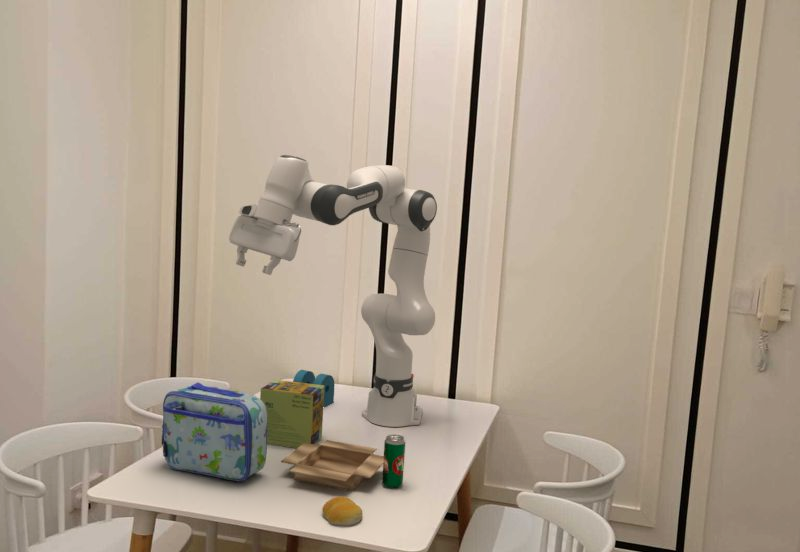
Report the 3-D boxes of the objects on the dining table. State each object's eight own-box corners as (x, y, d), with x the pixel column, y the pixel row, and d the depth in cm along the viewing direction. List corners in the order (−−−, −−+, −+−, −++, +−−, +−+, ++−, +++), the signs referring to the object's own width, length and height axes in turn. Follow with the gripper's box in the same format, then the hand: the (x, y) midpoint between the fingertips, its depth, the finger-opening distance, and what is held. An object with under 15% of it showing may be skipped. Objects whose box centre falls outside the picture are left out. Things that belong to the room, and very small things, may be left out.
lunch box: (154, 467, 177) (156, 384, 174) (183, 454, 187) (185, 375, 184) (244, 490, 167) (247, 402, 165) (269, 474, 177) (273, 391, 175)
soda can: (381, 480, 178) (384, 433, 176) (401, 481, 178) (404, 434, 177) (382, 488, 173) (385, 440, 171) (403, 489, 173) (406, 441, 172)
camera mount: (306, 397, 243) (308, 367, 242) (333, 403, 238) (335, 372, 237) (274, 411, 227) (276, 378, 225) (302, 417, 222) (304, 384, 221)
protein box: (310, 450, 195) (313, 394, 193) (257, 443, 198) (259, 388, 196) (322, 438, 205) (325, 385, 203) (271, 431, 208) (273, 378, 206)
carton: (310, 451, 194) (311, 437, 193) (392, 465, 188) (393, 451, 187) (272, 483, 172) (272, 467, 171) (362, 500, 166) (363, 484, 165)
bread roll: (335, 530, 151) (336, 512, 150) (317, 513, 159) (318, 495, 158) (369, 523, 155) (370, 505, 155) (350, 506, 163) (351, 489, 162)
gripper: (311, 228, 174) (291, 282, 173) (252, 213, 185) (233, 264, 184) (295, 220, 169) (274, 275, 167) (236, 205, 180) (216, 257, 179)
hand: (252, 269), depth 176 cm, fingers open, 8 cm apart
